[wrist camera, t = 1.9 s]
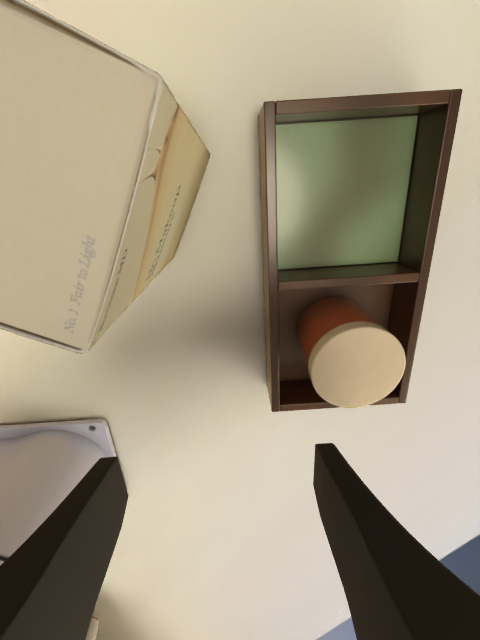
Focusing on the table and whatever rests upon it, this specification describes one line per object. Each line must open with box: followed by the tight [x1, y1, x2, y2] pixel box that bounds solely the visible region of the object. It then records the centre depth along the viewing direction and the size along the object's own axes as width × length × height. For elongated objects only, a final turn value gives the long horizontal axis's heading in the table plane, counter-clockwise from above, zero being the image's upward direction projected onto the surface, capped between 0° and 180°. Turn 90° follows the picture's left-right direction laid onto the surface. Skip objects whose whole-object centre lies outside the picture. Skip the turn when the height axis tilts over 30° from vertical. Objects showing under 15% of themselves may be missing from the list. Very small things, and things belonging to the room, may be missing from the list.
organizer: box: [258, 89, 462, 412], centre depth 18 cm, size 8×16×3 cm, turn 4°
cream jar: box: [296, 297, 406, 408], centre depth 18 cm, size 5×5×5 cm
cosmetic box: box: [0, 0, 210, 354], centre depth 12 cm, size 6×4×12 cm
